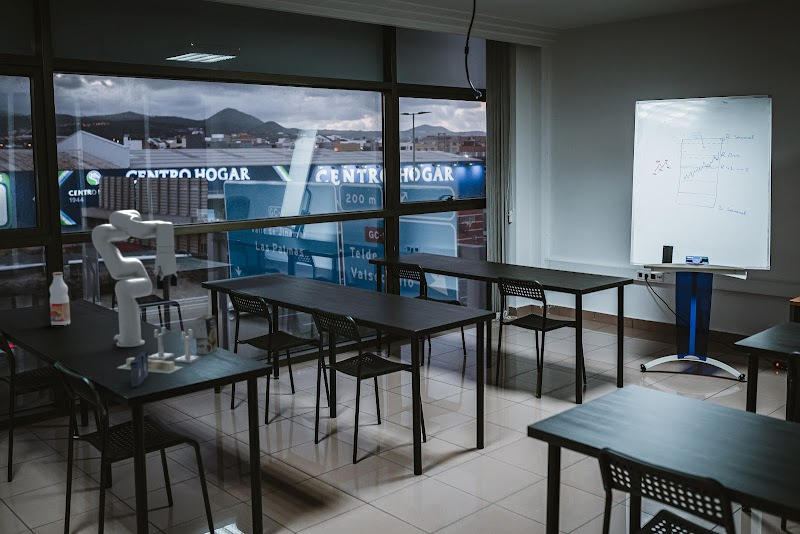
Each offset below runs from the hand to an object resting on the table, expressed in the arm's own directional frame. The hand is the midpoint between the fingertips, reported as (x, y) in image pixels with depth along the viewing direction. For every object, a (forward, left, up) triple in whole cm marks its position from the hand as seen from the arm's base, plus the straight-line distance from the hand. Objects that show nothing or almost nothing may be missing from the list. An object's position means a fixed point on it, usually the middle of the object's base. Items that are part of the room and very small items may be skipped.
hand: (167, 287), depth 359 cm
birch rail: (+8, -25, -30) cm, 40 cm away
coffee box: (+14, +8, -30) cm, 35 cm away
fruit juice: (-94, +34, -30) cm, 105 cm away
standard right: (+15, -8, -30) cm, 35 cm away
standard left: (+1, -8, -30) cm, 31 cm away
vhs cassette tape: (+16, -42, -31) cm, 55 cm away
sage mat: (+8, -25, -30) cm, 40 cm away
